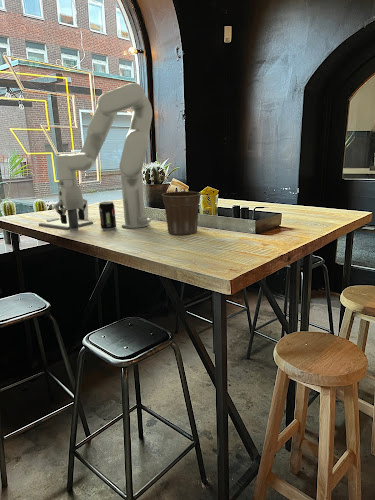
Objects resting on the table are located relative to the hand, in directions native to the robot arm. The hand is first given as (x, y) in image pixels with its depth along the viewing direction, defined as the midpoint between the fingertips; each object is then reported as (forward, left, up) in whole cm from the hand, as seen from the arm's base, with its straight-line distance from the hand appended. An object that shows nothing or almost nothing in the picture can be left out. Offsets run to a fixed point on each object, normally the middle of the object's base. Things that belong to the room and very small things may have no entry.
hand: (73, 221), depth 167 cm
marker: (0, 0, -4) cm, 4 cm away
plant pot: (-48, -18, -4) cm, 51 cm away
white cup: (+18, -19, -4) cm, 26 cm away
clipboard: (+14, -6, -4) cm, 16 cm away
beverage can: (-14, -8, -4) cm, 17 cm away
